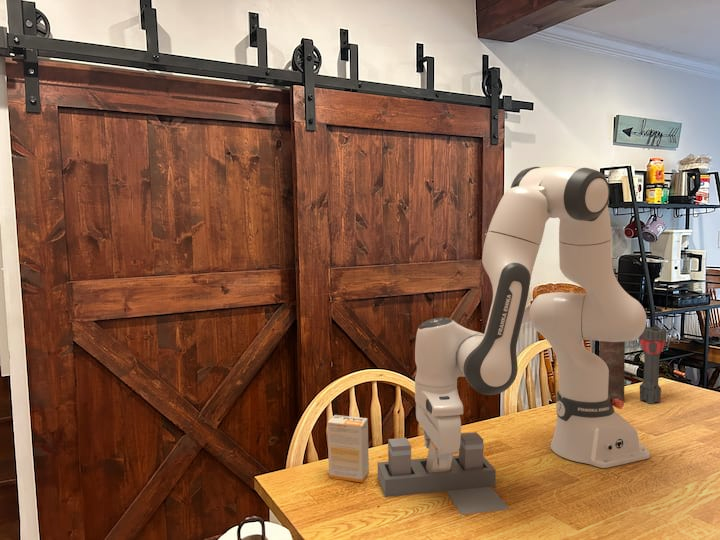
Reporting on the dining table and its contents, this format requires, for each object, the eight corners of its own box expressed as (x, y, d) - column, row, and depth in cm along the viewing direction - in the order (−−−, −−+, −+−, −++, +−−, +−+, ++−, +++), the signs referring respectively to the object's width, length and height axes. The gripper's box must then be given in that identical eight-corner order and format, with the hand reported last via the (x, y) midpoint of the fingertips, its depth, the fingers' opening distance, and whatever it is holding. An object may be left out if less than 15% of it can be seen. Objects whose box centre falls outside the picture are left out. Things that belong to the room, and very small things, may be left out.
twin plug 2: (476, 466, 118) (476, 432, 117) (483, 475, 114) (483, 439, 113) (458, 468, 117) (458, 433, 116) (465, 476, 113) (465, 441, 112)
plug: (443, 469, 117) (448, 434, 116) (449, 478, 113) (455, 442, 112) (425, 468, 116) (431, 433, 115) (430, 477, 112) (436, 440, 111)
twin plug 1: (406, 472, 115) (406, 437, 114) (411, 482, 111) (411, 445, 110) (388, 474, 115) (387, 439, 114) (392, 483, 111) (392, 447, 110)
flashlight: (648, 394, 171) (651, 324, 168) (669, 401, 163) (673, 329, 161) (629, 396, 168) (632, 326, 166) (650, 404, 161) (653, 331, 159)
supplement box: (369, 473, 119) (369, 417, 118) (362, 483, 115) (362, 425, 114) (335, 468, 122) (334, 413, 121) (327, 478, 117) (326, 421, 116)
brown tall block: (601, 403, 163) (603, 339, 161) (594, 395, 170) (596, 334, 168) (627, 404, 162) (629, 340, 160) (619, 396, 169) (622, 335, 167)
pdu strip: (480, 470, 120) (481, 453, 120) (495, 487, 112) (495, 469, 112) (377, 479, 116) (377, 462, 116) (385, 498, 109) (385, 479, 108)
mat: (489, 485, 113) (489, 484, 113) (509, 511, 103) (509, 509, 103) (444, 490, 112) (444, 488, 112) (460, 516, 102) (460, 514, 102)
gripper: (409, 380, 122) (409, 438, 124) (435, 411, 102) (435, 480, 103) (435, 378, 123) (435, 435, 125) (466, 409, 103) (466, 477, 104)
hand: (435, 456), depth 114 cm, fingers open, 8 cm apart
